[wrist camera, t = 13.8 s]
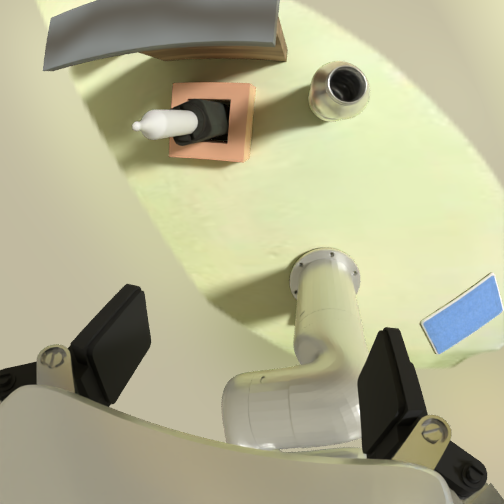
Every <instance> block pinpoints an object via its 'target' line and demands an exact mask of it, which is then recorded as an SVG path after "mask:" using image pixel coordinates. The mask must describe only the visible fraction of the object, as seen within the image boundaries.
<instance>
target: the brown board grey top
mask: <svg viewBox="0 0 504 504" xmlns="http://www.w3.org/2000/svg"><path fill="white" fill-rule="evenodd" d="M279 1H280V0H97V1H94V2H91V3H88V4H85V5H82V6H79V7H77V8H74V9H72V10H69V11H67V12H64V13H62V14H59V15H57V16H55V17H52V18H51V21H50V26H49V31H48V37H47V43H46V50H45V58H44V66H43V71H55V70H59V69H62V68H66V67H69V66H73V65H77V64H81V63H85V62H89V61H93V60H98V59H103V58H108V57H113V56H118V55H124V54H130V53H136V52H139V53H142V54H145V55H148V56H152V57H155V58H158V59H161V60H164V61H170V60H185V59H217V58H226V59H259V60H274V61H287V46H286V42H285V39H284V35H283V31H282V28H281V24H280V21H279V17H278V12H279Z"/></svg>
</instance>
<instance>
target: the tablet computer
mask: <svg viewBox="0 0 504 504" xmlns="http://www.w3.org/2000/svg"><path fill="white" fill-rule="evenodd" d="M502 311H503V305H502V301H501V296H500V292H499V289H498V285H497V281H496V277H495V274H494V273H493V272H492V273H490V274H489V275H487V276H486V277H485V278H484V279H482V280H481V281H480V282H478V283H477V284H476V285H474V286H473V287H472V288H470V289H469V290H467V291H466V292H464V293H463V294H462V295H460V296H459V297H457V298H456V299H454V300H453V301H451V302H450V303H448V304H447V305H445V306H444V307H442V308H441V309H439V310H437V311H436V312H434V313H432V314H431V315H429V316H428V317H426V318H424V319H423V320H422V321H421V325H422V327H423V329H424V331H425V333H426V335H427V336H428V338H429V340H430V342H431V344H432V346H433V348H434V350H435V352H436V354H441V353H443V352H444V351H446V350H447V349H449V348H451V347H452V346H454V345H455V344H457V343H459V342H460V341H462V340H463V339H465V338H466V337H468V336H469V335H471V334H472V333H474V332H475V331H477V330H478V329H480V328H481V327H482V326H484V325H485V324H487V323H488V322H490V321H491V320H492V319H494V318H495V317H496V316H498V315H499V314H500V313H502Z"/></svg>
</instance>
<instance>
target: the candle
mask: <svg viewBox="0 0 504 504" xmlns="http://www.w3.org/2000/svg"><path fill="white" fill-rule="evenodd" d="M229 116H230V107H229V106H228V105H227V104H224V103H219V102H213V101H208V100H202V99H191V100H189V101H187V102H184V103H182V104H180V105H178V106H175V107H173V108H171V109H170V110H150V111H148V112H147V113H145V114H144V116H143V117H142V119H141V121H139V122H138V121H136V122H134V123H133V124H132V129H133V130H134V131H141V132H142V134H143V135H144V136H145V137H146V138H148V139H151V140H156V139H162V138H168V137H173V139H174V141H175V143H176V144H177V145H179V146H185V145H189V144H194V143H198V142H202V141H207V140H212V139H216V137H218V136H221V135H224V134H228V129H229Z"/></svg>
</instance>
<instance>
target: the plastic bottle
mask: <svg viewBox="0 0 504 504" xmlns="http://www.w3.org/2000/svg"><path fill="white" fill-rule="evenodd" d="M369 98H370V86H369V83H368V80H367V78H366V76H365V75H364V74H363V72H362V71H361V70H360V69H358V68H357V67H356V66H354V65H352V64H350V63H347V62H343V61H334V62H330V63H327V64H325V65H323V66H322V67H320V68H319V69H318V70H317V71H316V73H315V74H314V76H313V78H312V81H311V89H310V91H309V95H308V102H309V106H310V109H311V110H312V112H313V113H314V114H315V115H316V116H317V117H318V118H320V119H322V120H324V121H329V122H335V121H339V120H341V119H342V120H343V119H350V118H353V117H355V116H357V115H359V114H360V113H361V112H362V111H363V110H364V109H365V108H366V106H367V104H368V102H369Z"/></svg>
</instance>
